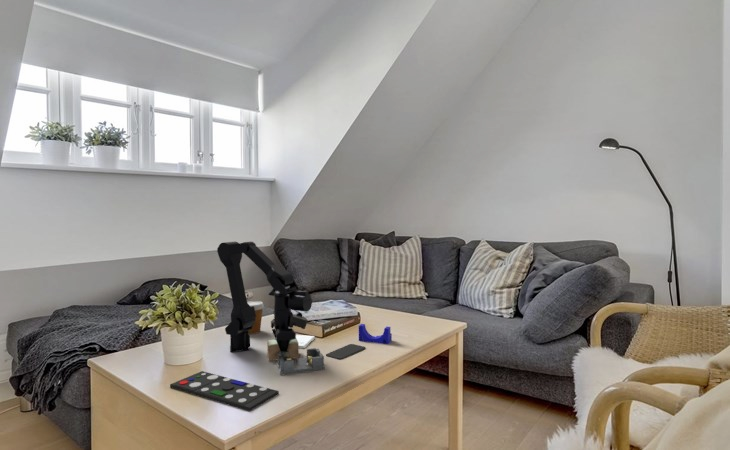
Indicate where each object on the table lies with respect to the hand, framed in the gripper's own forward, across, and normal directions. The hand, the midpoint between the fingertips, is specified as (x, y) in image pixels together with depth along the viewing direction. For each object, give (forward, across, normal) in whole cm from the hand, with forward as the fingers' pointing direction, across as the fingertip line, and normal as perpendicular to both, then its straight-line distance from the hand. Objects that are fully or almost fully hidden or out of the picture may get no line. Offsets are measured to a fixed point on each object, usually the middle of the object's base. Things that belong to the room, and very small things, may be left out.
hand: (282, 353), depth 146 cm
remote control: (+2, -23, +20) cm, 30 cm away
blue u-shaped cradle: (+1, +6, -36) cm, 37 cm away
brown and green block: (+1, 0, 0) cm, 1 cm away
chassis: (+1, -12, -4) cm, 13 cm away
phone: (+2, -3, -22) cm, 22 cm away
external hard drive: (+2, +13, -8) cm, 16 cm away
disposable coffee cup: (+1, +34, +8) cm, 35 cm away
